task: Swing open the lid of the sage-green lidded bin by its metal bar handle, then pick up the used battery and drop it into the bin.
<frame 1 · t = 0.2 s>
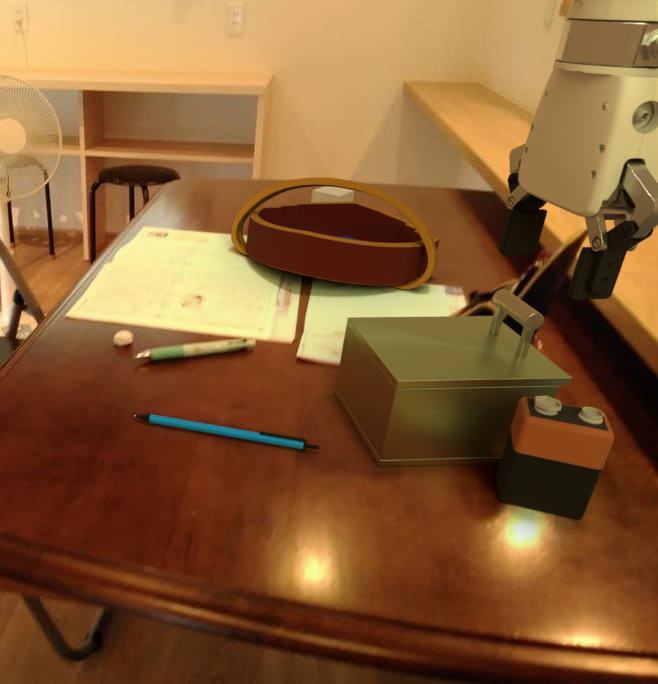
hand: (549, 274, 57), 20 cm above the table, tool pointing down, fingers open, 9 cm apart
pen: (223, 436, 70), on the table
battery: (535, 500, 63), on the table
bin lid: (455, 327, 68), point 12 cm above the table, hinge at 0.0°
white cube: (329, 220, 140), on the table
bin: (426, 425, 73), on the table
decorative basket: (326, 268, 115), on the table
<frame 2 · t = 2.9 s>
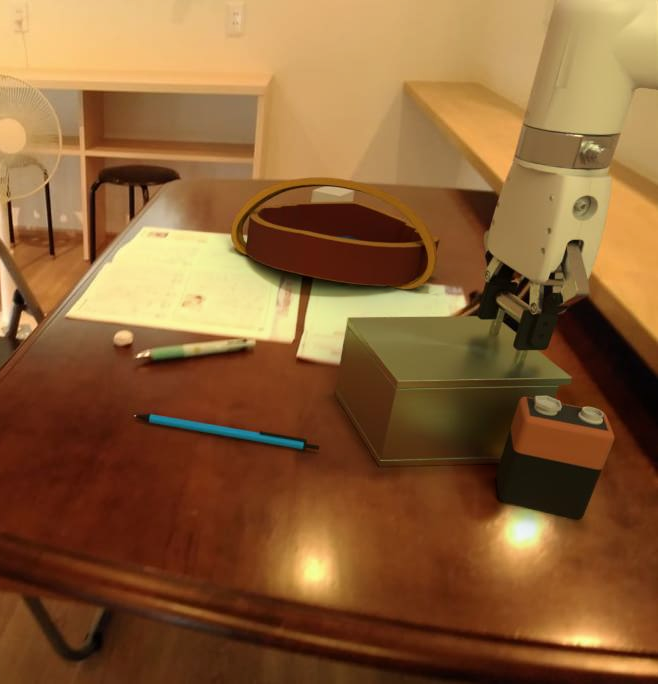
hand: (510, 331, 68), 11 cm above the table, tool pointing down, fingers closed on bin lid, 6 cm apart
bin lid: (455, 327, 68), point 12 cm above the table, hinge at 0.0°, touching gripper
everything else where it was.
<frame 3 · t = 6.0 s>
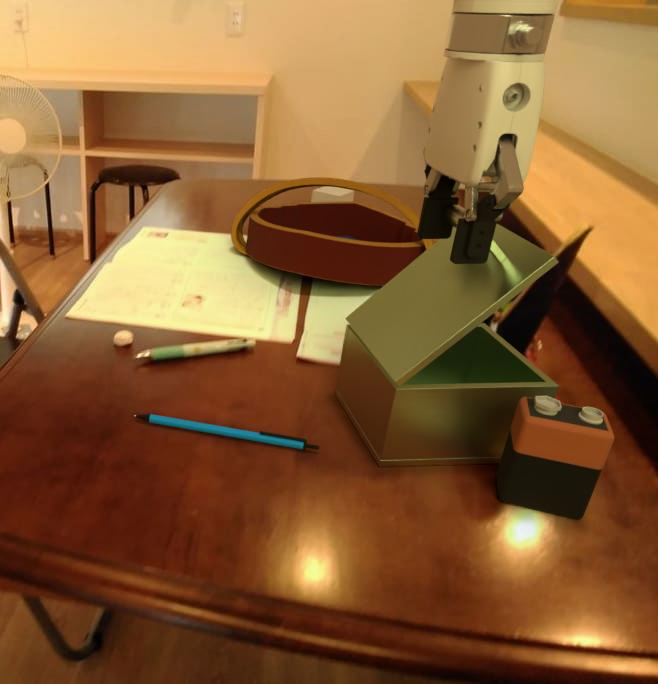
hand: (450, 248, 64), 20 cm above the table, tool pointing down, fingers closed on bin lid, 6 cm apart
bin lid: (424, 277, 65), point 17 cm above the table, hinge at 46.1°, touching gripper
everything else where it was.
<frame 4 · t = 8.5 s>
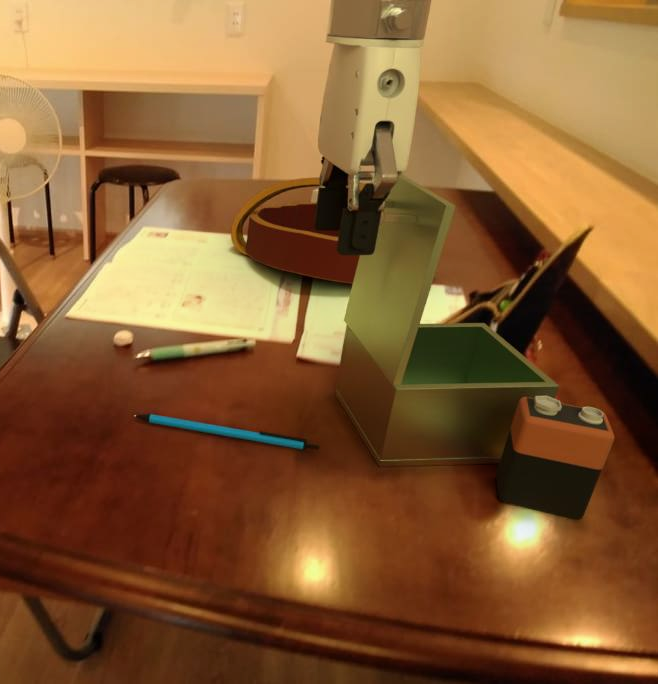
hand: (342, 239, 63), 21 cm above the table, tool pointing down, fingers closed on bin lid, 6 cm apart
bin lid: (366, 270, 64), point 18 cm above the table, hinge at 85.7°, touching gripper
everything else where it was.
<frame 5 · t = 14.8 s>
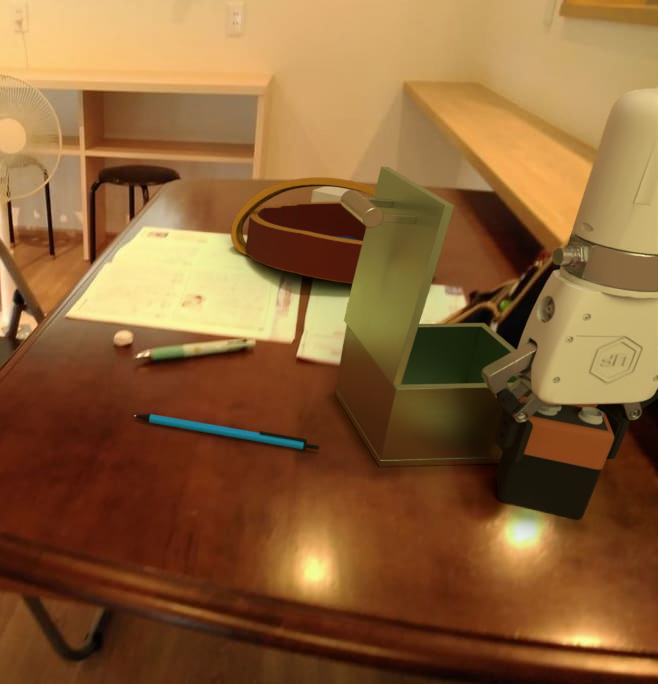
hand: (553, 450, 60), 5 cm above the table, tool pointing down, fingers closed on battery, 7 cm apart
battery: (535, 500, 63), on the table, touching gripper
bin lid: (366, 270, 64), point 18 cm above the table, hinge at 86.0°
everything else where it was.
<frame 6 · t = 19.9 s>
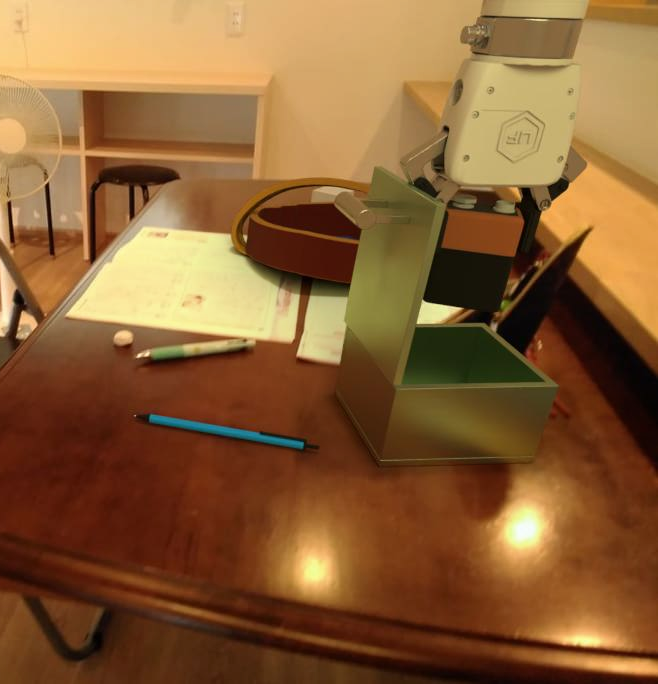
hand: (472, 247, 64), 20 cm above the table, tool pointing down, fingers closed on battery, 7 cm apart
battery: (458, 302, 66), point 14 cm above the table, touching gripper
bin lid: (362, 271, 64), point 18 cm above the table, hinge at 88.4°
everything else where it was.
when the fingers open (6 cm above the table, at t = 23.7 s): battery stays where it is, resting on bin.
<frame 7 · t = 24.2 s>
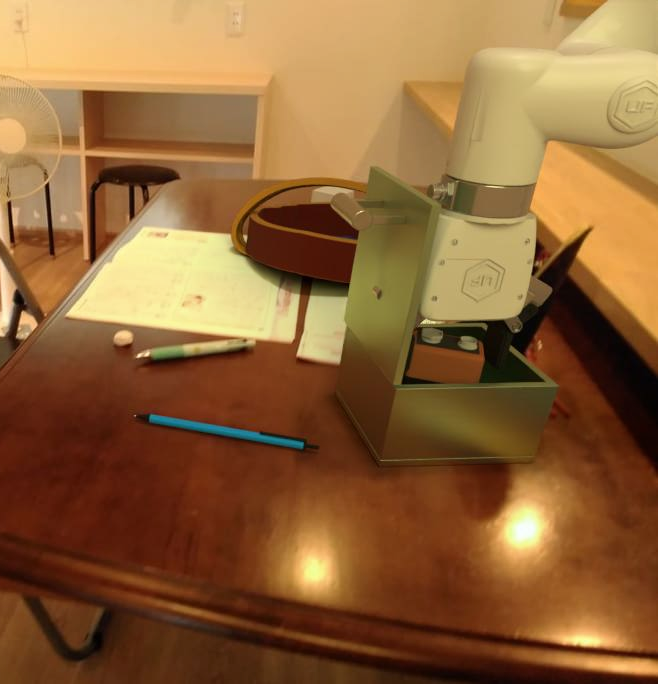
hand: (445, 363, 70), 8 cm above the table, tool pointing down, fingers open, 9 cm apart
battery: (428, 421, 73), point 1 cm above the table, touching bin
bin lid: (360, 271, 64), point 18 cm above the table, hinge at 89.7°
everything else where it was.
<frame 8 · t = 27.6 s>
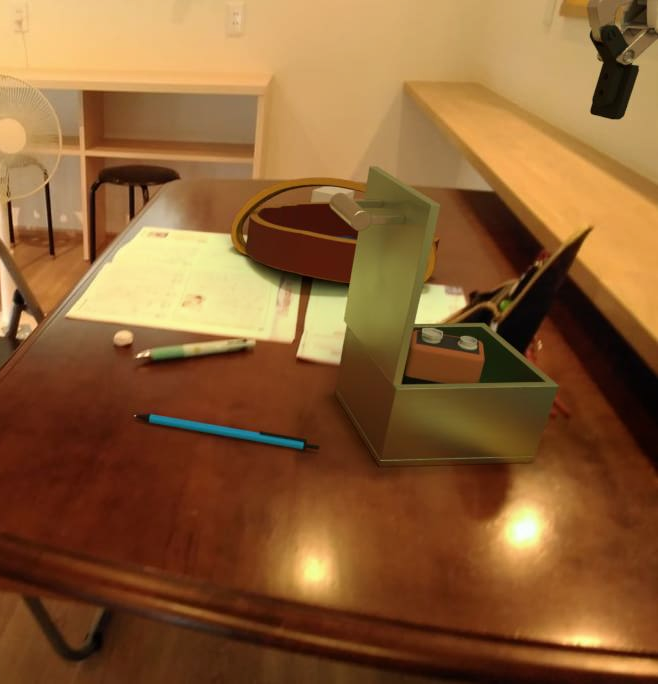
bin lid: (359, 271, 64), point 18 cm above the table, hinge at 90.1°
everything else where it was.
at the end: bin lid at +90° (first picture: +0°); battery inside the target area in the bin (0.1 cm from its centre), point 0.6 cm above the bin's base; the gripper is holding nothing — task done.
